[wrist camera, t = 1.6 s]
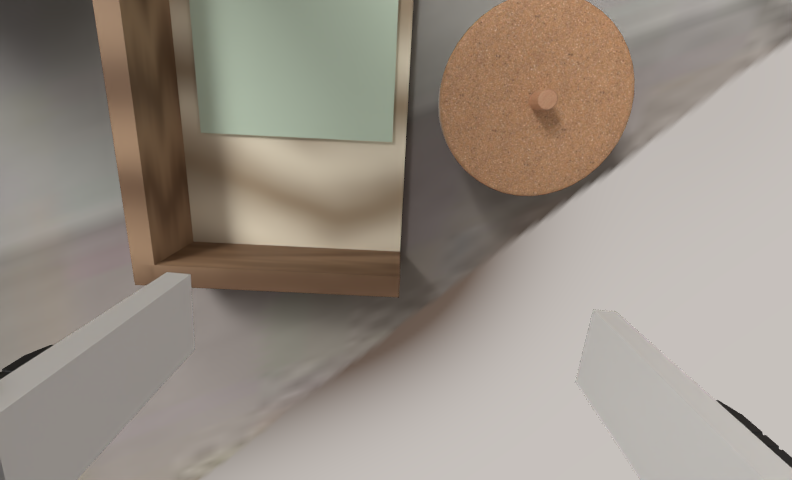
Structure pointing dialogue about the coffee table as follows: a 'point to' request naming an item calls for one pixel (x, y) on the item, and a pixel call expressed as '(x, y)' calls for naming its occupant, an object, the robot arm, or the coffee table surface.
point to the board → (293, 171)
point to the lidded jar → (536, 95)
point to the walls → (168, 188)
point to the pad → (296, 67)
